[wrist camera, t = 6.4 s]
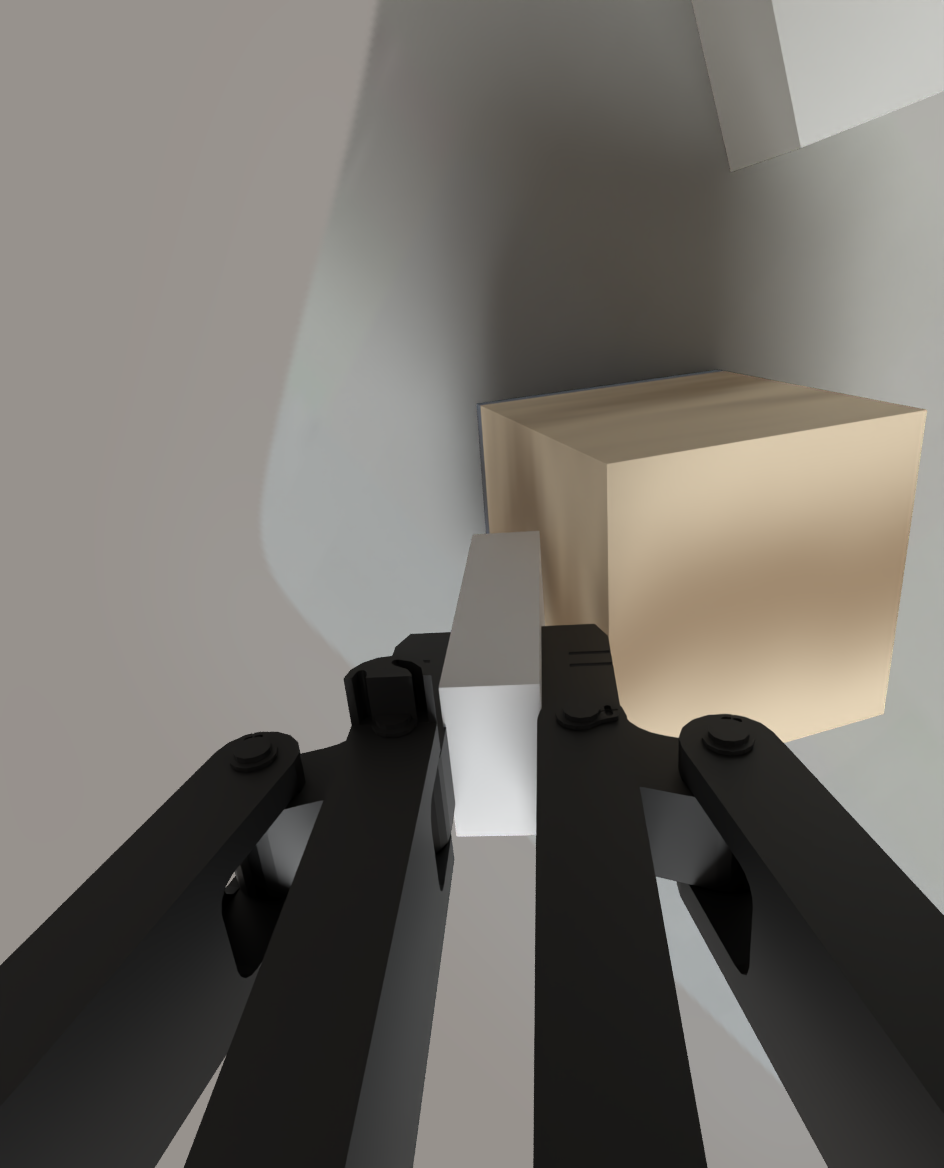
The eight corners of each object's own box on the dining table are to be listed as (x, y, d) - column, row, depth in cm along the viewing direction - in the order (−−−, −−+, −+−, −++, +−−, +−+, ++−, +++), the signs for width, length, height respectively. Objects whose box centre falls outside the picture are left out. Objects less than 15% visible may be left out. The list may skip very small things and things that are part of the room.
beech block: (476, 403, 20) (606, 463, 14) (718, 369, 22) (926, 409, 16) (494, 651, 23) (610, 793, 17) (708, 602, 25) (883, 714, 19)
